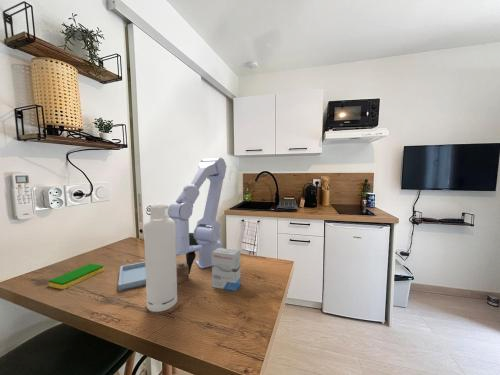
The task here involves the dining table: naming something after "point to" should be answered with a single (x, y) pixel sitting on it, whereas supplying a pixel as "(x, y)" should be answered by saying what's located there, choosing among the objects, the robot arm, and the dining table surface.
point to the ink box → (226, 269)
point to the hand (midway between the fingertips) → (181, 274)
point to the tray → (132, 276)
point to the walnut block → (182, 272)
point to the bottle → (160, 259)
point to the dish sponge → (75, 276)
